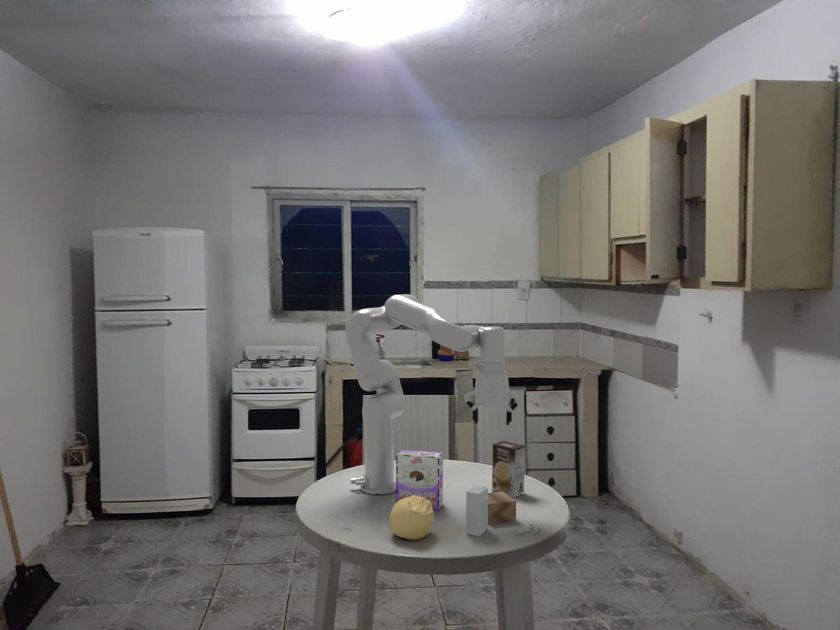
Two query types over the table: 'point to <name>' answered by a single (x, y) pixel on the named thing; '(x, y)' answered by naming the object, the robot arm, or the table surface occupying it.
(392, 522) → the pale yellow round lump
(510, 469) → the coffee box
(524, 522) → the table surface
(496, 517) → the brown cardboard box
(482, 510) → the skincare box
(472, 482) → the table surface
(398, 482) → the candy box
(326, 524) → the table surface
